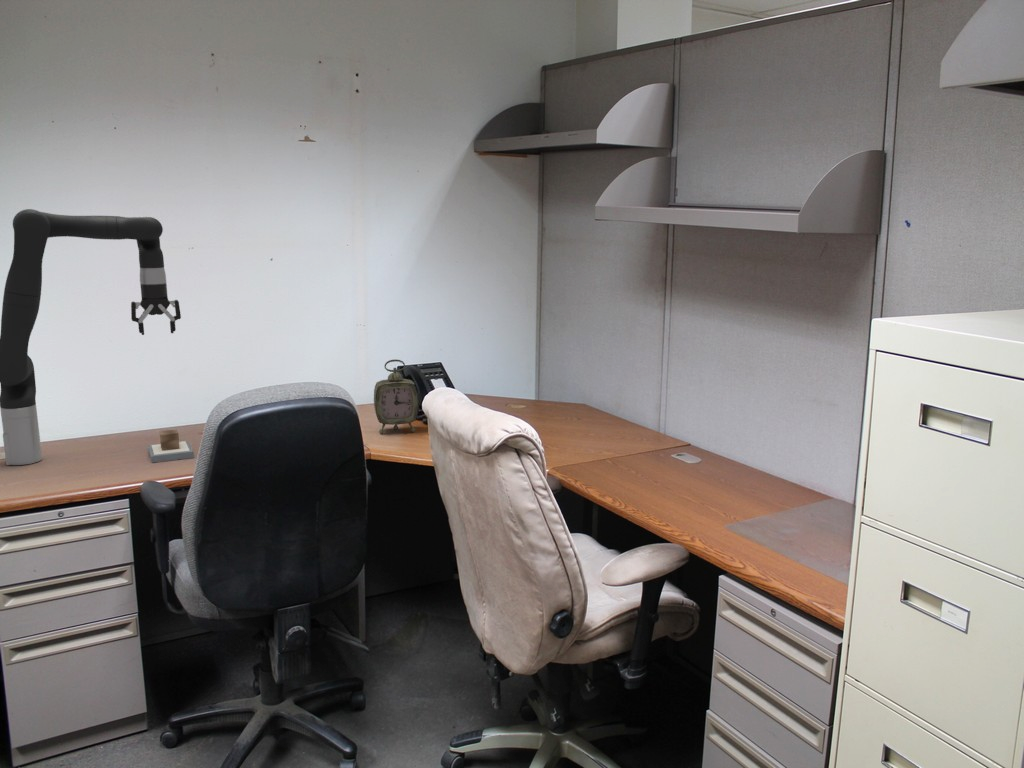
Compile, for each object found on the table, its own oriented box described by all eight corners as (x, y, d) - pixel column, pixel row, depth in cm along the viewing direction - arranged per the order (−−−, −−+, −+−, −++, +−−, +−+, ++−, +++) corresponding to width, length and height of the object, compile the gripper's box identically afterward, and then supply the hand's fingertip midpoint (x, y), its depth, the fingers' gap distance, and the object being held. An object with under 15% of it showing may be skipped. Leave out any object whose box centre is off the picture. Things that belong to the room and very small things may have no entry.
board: (151, 463, 251) (150, 455, 251) (148, 451, 264) (147, 444, 263) (194, 457, 257) (193, 450, 256) (188, 446, 269) (188, 440, 269)
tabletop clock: (376, 435, 283) (373, 362, 277) (374, 429, 291) (371, 358, 286) (419, 433, 286) (417, 360, 281) (415, 426, 294) (414, 356, 289)
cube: (162, 450, 257) (160, 434, 256) (160, 446, 261) (159, 431, 260) (179, 448, 259) (178, 433, 258) (178, 444, 263) (176, 429, 262)
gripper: (128, 284, 255) (133, 336, 259) (178, 282, 261) (182, 334, 265) (127, 282, 262) (132, 333, 265) (176, 280, 268) (180, 331, 271)
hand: (157, 333), depth 265 cm, fingers open, 8 cm apart
